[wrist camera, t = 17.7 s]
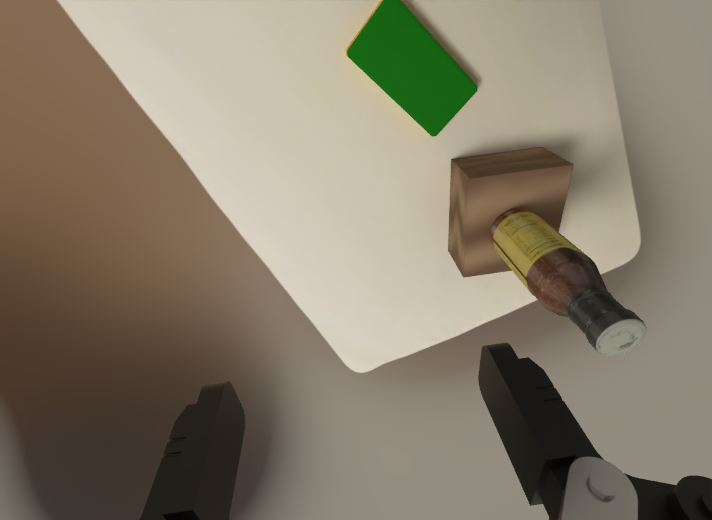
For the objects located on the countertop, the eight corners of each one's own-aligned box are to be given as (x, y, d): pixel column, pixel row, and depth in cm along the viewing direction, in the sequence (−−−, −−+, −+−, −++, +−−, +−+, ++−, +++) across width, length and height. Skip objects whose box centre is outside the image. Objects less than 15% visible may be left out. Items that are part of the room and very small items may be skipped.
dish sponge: (387, -9, 38) (391, -11, 36) (472, 85, 43) (479, 88, 41) (343, 52, 40) (345, 53, 38) (429, 133, 46) (434, 138, 44)
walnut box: (451, 159, 48) (470, 178, 42) (542, 147, 48) (573, 164, 42) (447, 254, 56) (463, 282, 50) (525, 243, 56) (549, 269, 50)
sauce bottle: (532, 245, 48) (646, 365, 31) (485, 252, 48) (573, 376, 31) (540, 199, 44) (675, 307, 27) (489, 206, 44) (592, 319, 27)
